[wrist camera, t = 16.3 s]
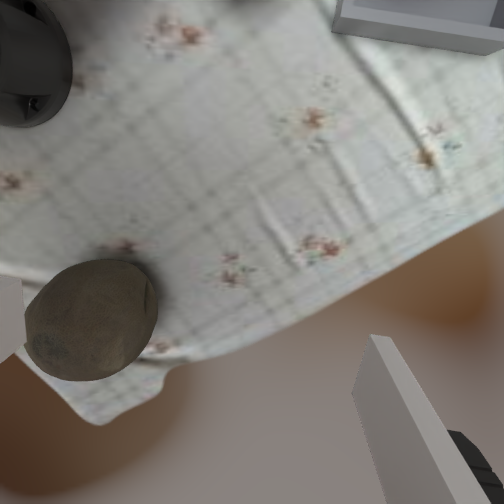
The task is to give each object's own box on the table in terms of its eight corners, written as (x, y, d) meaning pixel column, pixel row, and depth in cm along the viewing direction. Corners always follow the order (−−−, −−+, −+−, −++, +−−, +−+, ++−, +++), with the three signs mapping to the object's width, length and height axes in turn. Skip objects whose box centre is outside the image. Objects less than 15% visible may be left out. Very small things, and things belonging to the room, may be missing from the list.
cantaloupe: (80, 231, 45) (-7, 273, 31) (180, 260, 46) (139, 314, 32) (69, 318, 50) (-11, 389, 36) (160, 343, 50) (117, 423, 36)
